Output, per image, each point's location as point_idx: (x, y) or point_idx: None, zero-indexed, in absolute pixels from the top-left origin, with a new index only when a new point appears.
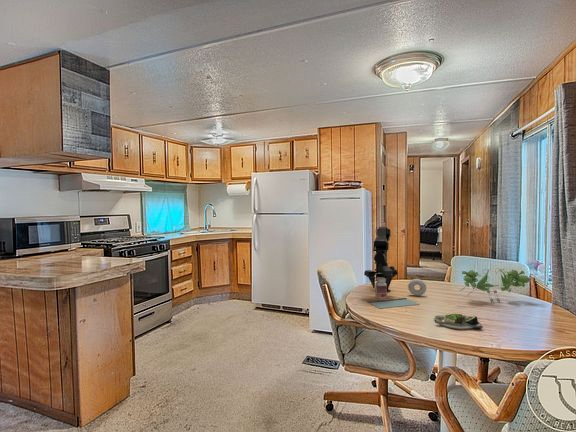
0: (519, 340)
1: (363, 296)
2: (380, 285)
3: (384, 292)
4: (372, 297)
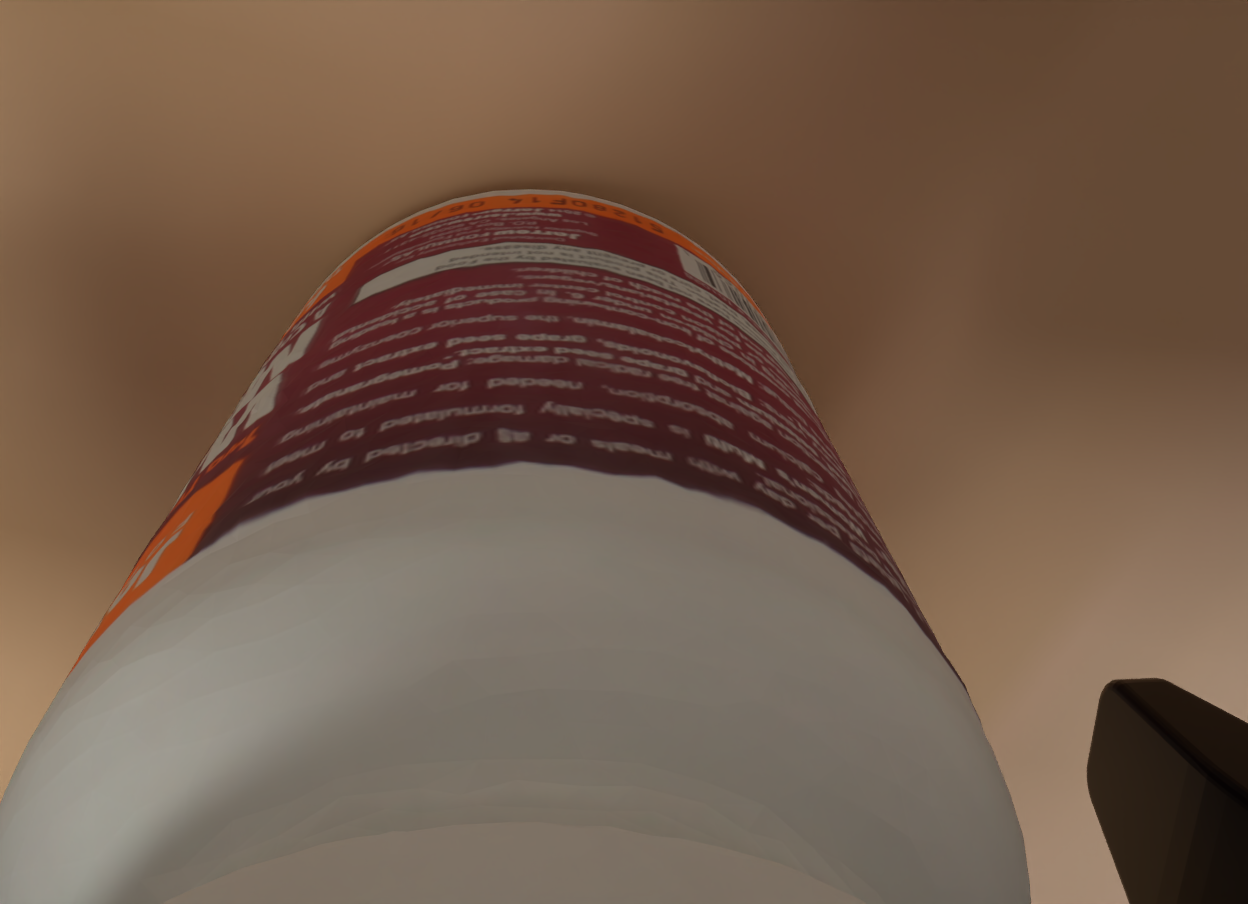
0: None
1: None
2: (838, 579)
3: (471, 278)
4: (898, 555)
